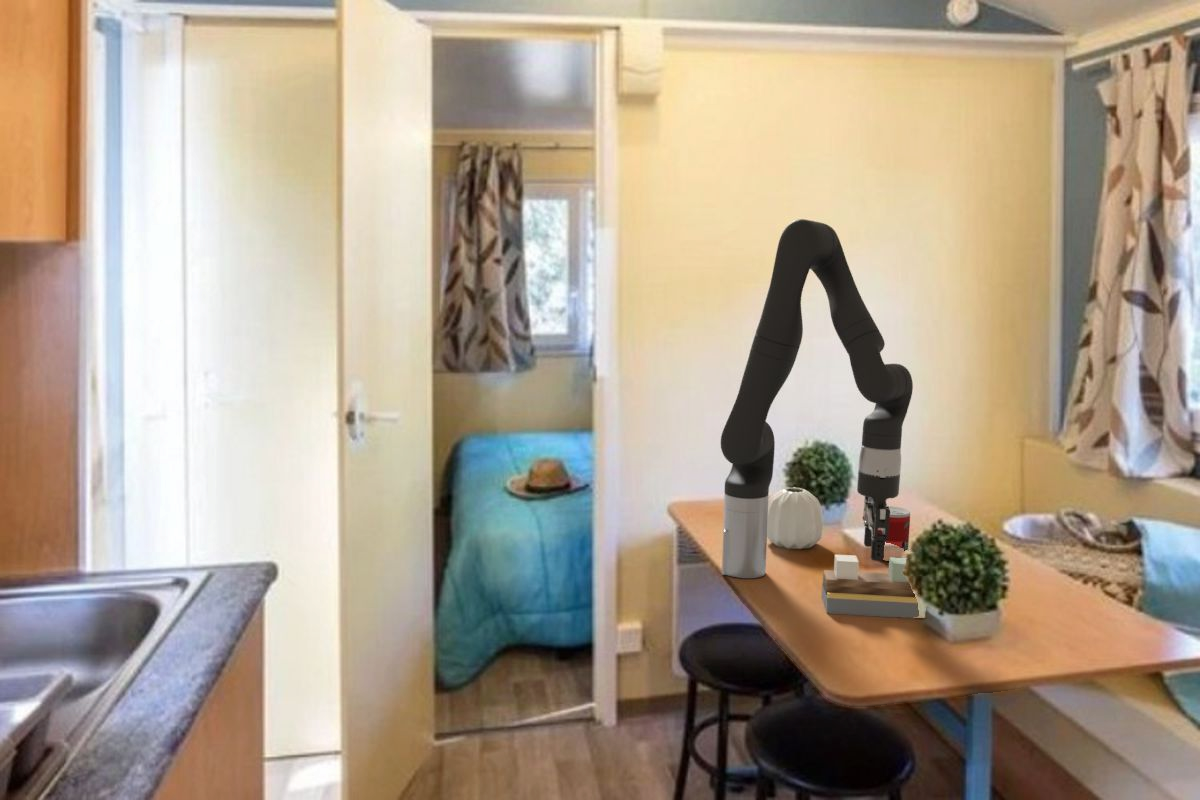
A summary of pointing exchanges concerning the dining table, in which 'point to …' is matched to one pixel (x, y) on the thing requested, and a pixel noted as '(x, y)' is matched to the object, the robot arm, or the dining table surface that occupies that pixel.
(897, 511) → the canned food
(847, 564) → the block
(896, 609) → the block
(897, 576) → the block
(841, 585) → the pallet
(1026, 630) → the dining table surface
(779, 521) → the vase
